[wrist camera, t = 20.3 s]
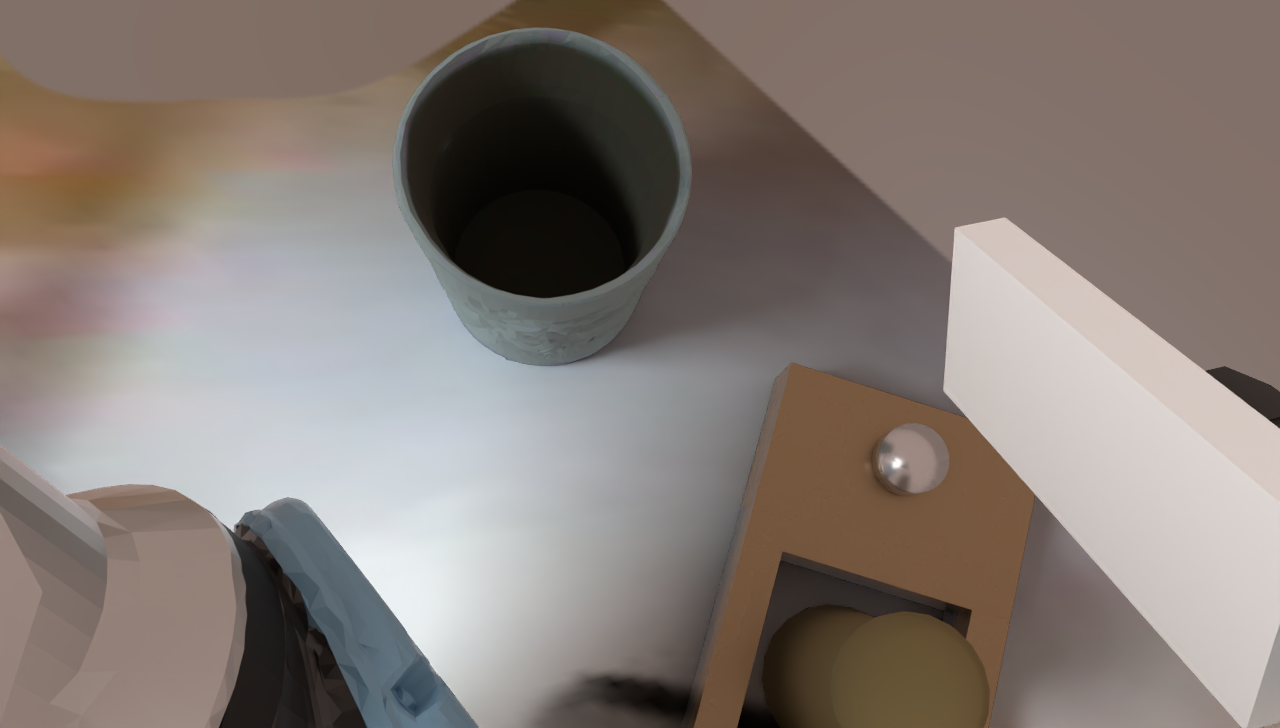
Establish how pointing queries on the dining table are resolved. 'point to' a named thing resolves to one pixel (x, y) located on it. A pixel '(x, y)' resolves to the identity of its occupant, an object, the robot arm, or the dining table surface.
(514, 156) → the grey green cup
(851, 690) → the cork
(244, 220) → the dining table surface
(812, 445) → the slotted wooden plate
